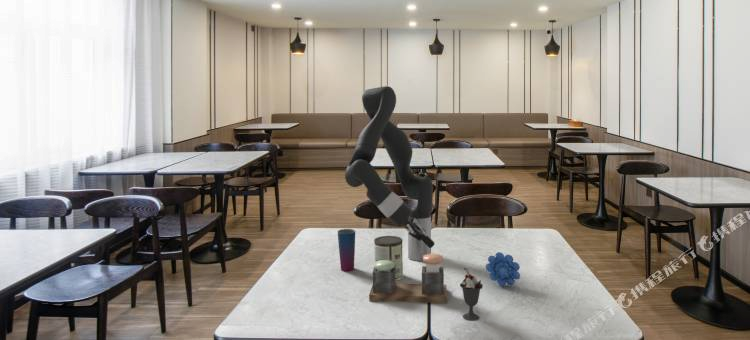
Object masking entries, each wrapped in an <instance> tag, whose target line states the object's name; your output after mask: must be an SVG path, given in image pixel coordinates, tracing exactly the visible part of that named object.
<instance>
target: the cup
mask: <svg viewBox="0 0 750 340" xmlns="http://www.w3.org/2000/svg"><path fill="white" fill-rule="evenodd" d="M337 240H338V252H339V261H340V262H339V263H340V271H343V272H351V271H354V269H355V253H356V230H355V229H352V228H342V229H339V230H337Z"/></svg>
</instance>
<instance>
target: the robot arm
mask: <svg viewBox="0 0 750 340" xmlns="http://www.w3.org/2000/svg"><path fill="white" fill-rule="evenodd" d="M361 101H362V106H363V108H364V110H365V112H366V115H367V116H368V118H369V119H370V120H371V121H370V122H369V123H368V124H366V126H365V127H364V128H363V129H362V130H361V132H360V133H359V135H358V138H357V141H356V145H355V147H354V151H353V153H352V156H351V158H350V160H349V162H348V164H347V167H346V170H345V173H344V178H345V179H344V180H345V182H346V183H347V185H348V186H350V187H353V188H359V187H361V186H363V185H364V187H365V188H366V197H367V198H368V199H369V200H370V201H371V202H372V204H374V205H375V206H376V207H377V208H378V210H379V211H380V212H381V213H382V214H383V215H384V216H385V217H386V218H387V219H388V220H389V221H390V222H391V223H392V224H393V225H394V226H395V227H400V226H401V225H403V226H404V229H405V231H406V232H407V256H408V257H407V258H408V259H410V260H412V261H419V262H420V261H422V262H423V256H424V255H426V254H432V250H431V249H432V248H433V247H434V246H435V241H434V240H433V239H432V209H433V197H434V185H433V181H432V180H431V178H430V177H426V176H419V175H415V174H414V173H413V170H412V168H411V161H412V158H413V148H412V145H411V142H410V140H409V138H408V136H407V134H406V133H405V132H404V131H403V130H402V129H401V128H399V127H398V126H397V125H395V124H394V123H393V122H391V121H390V119H391V117H392V114H393V113H394V111H395V108H396V105H397V95H396V92H395V91H394V89H393V88H392V87H391V86H379V87H373V88H368V89H366V90H365V89H364V91H363V92H362V95H361ZM380 139H381V141H382V143H383V145H384V148H385V151H386V152H387V155H388V157H389V158H390V160H391V163H392V164H393V167H394V169H395V172H396V174H397V176H398V180H399V182H400V186H401V189H402V191H403V192H402V193H404V196H406V197H407V198H408V199H412V200H417V205H416V206H412V207H410V206H409V205H408V204H407V203H406V201H404V200H403V199H402V198H401V197H400V195H397V194H396V193H395V192H393V191H392V189H391V188H389V186H388V185H387V184H385V182H383V180H382V178H381V176H380V175H379V174H378V172H377V170H376V168H375V167H374V165H372V164H371V163H372V161H373V160H374V158H375V156H376V154H377V149H378V146H379V142H380Z"/></svg>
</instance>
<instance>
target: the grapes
mask: <svg viewBox="0 0 750 340" xmlns="http://www.w3.org/2000/svg"><path fill="white" fill-rule="evenodd" d="M487 261H488V263H486V265H485V269H486V271H487V272H489V275H488V276H489V279H490V280H491V281H494V282H495V281H497V284H498V285H499V286H502V287H504V286H506V285H508V286H514V285H515V283H516V281H515V280H520V277H521V274H520V272H519V270H520V264H519V263H518V262H516V261H514V257H513V256H512V255H511V254H504V253H503V252H501V251H498V252H496V253H495V254H494V255H493V254H492V255H488V259H487Z"/></svg>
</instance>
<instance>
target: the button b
mask: <svg viewBox="0 0 750 340" xmlns="http://www.w3.org/2000/svg"><path fill="white" fill-rule="evenodd" d="M443 257H444V256H443V255H441V254H437V253H431V254H426V255H424V256H423V261H422V262H423V263H424V264H425V266H426V272H429V273H439V267H440V264H442V263H443V261H444V259H443Z"/></svg>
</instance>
